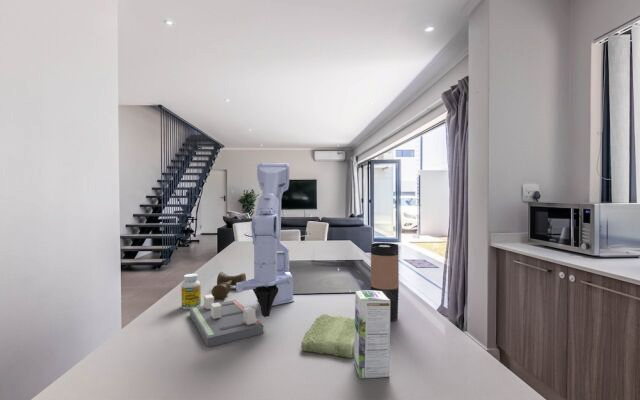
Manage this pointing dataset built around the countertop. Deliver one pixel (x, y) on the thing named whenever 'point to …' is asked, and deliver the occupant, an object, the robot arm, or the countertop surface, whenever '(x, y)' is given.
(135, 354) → the countertop surface
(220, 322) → the switch panel
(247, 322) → the handle
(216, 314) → the handle middle
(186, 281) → the supplement bottle
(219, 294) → the kendama
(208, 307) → the handle right
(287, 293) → the robot arm
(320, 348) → the washcloth
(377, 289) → the travel mug
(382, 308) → the syrup box
